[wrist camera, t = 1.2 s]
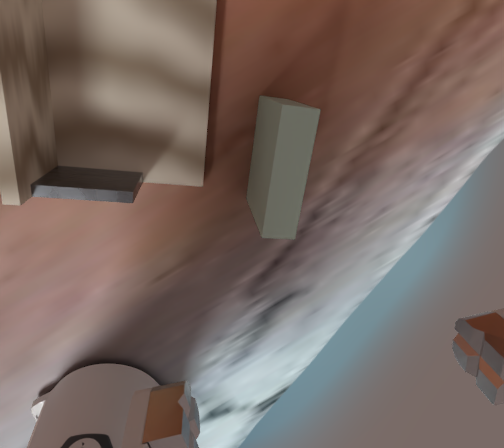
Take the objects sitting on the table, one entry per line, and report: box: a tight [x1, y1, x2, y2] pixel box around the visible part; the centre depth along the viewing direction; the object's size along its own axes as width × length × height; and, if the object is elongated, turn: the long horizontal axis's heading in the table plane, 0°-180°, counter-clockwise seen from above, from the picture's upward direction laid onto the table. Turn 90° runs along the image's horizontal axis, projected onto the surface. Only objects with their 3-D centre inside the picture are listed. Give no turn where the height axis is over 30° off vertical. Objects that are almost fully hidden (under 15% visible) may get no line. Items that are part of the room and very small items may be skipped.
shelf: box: [0, 0, 217, 205], centre depth 27 cm, size 20×15×10 cm
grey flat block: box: [246, 96, 321, 240], centre depth 32 cm, size 3×11×10 cm, turn 172°
